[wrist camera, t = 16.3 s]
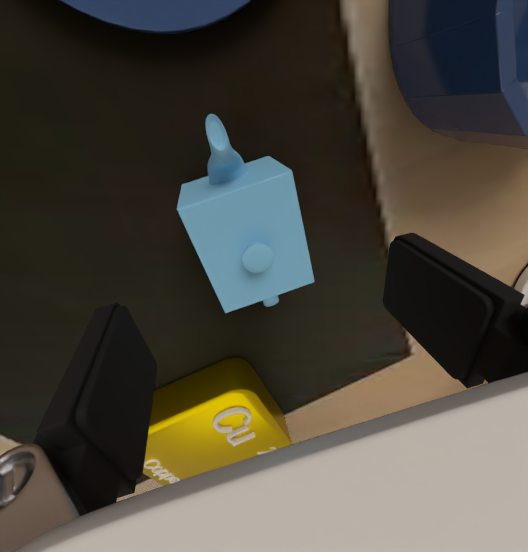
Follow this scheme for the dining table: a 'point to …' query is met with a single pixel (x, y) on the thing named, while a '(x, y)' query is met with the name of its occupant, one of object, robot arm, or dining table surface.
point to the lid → (158, 13)
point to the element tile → (211, 422)
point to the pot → (464, 67)
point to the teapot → (245, 225)
